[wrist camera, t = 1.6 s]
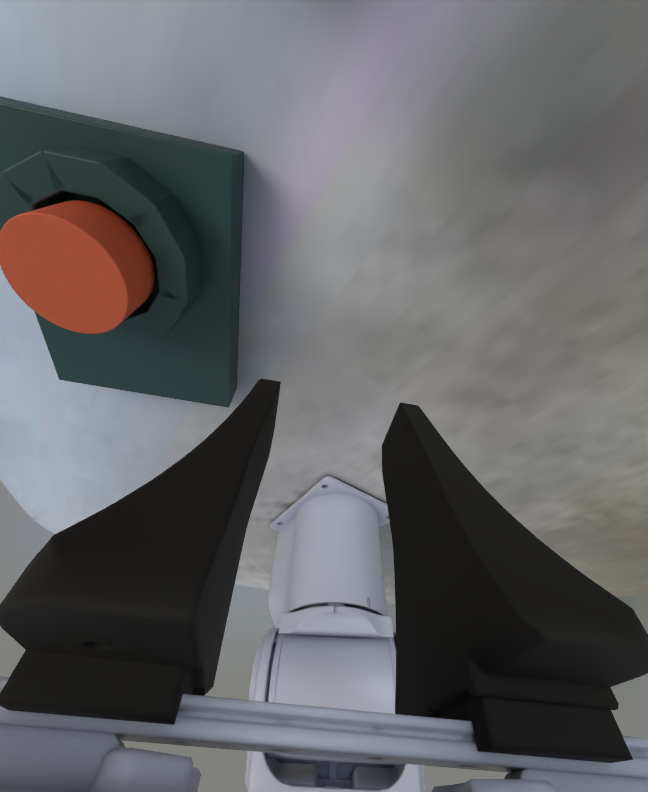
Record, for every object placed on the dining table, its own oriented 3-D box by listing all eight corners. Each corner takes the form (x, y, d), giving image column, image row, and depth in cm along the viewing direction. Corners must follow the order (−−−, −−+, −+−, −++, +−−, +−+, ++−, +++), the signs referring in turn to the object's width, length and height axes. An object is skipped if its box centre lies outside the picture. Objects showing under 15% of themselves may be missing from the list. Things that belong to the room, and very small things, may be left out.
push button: (160, 317, 16) (136, 343, 14) (60, 299, 15) (22, 323, 14) (148, 213, 13) (116, 227, 11) (26, 188, 13) (-27, 199, 11)
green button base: (236, 388, 23) (219, 430, 20) (79, 361, 22) (35, 401, 19) (244, 151, 15) (218, 158, 12) (-3, 95, 14) (-103, 87, 11)
